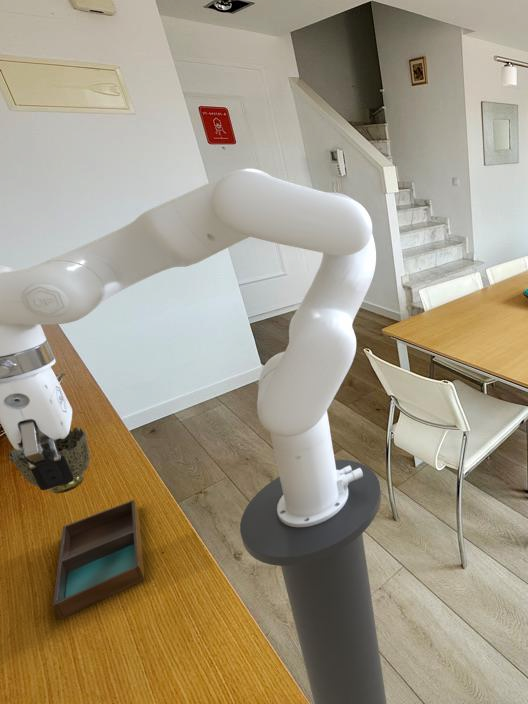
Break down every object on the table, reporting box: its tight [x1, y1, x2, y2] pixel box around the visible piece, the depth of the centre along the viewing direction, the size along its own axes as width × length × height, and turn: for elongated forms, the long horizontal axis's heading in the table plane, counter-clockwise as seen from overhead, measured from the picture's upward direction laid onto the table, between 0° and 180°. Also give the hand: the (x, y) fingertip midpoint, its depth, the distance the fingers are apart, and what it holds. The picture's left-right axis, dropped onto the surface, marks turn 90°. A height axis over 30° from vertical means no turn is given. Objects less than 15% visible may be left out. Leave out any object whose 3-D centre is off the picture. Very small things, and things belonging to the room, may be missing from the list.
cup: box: [8, 426, 91, 494], centre depth 60 cm, size 8×7×8 cm
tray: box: [52, 499, 145, 621], centre depth 67 cm, size 9×18×3 cm, turn 42°
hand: (60, 468), depth 60 cm, fingers closed on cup, 7 cm apart
